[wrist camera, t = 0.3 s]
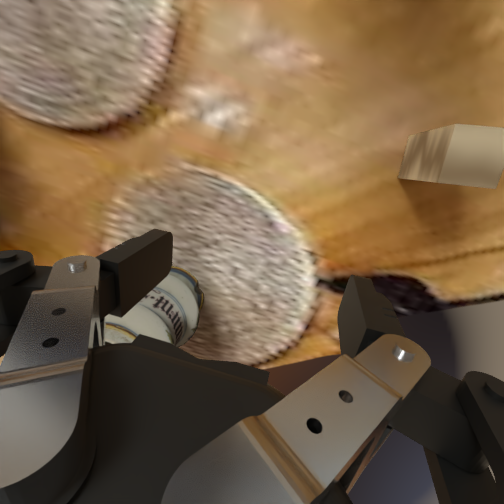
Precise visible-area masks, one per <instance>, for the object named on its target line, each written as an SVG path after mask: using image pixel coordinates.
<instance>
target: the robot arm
mask: <svg viewBox="0 0 504 504" xmlns="http://www.w3.org/2000/svg"><path fill="white" fill-rule="evenodd" d="M172 249H173V236H172V233H171V232H167V231H163V230H158V229H153V230H151V231H149V232H147V233H145V234H144V235H142V236H140V237H136V238H132V239H129V240H127V241H125V242H123V243H122V244H120V245H118V246H116V247H115V248H112V249H110V250H108V251H107V252H105V253H103V254H101V255H99V256H97V257H92V256H84V255H81V256H71V257H67V258H63V259H61V260H59V261H57V262H56V263H55V264H54V265H53V267H51V266H35V265H34V260H33V255H32V254H31V253H29V252H27V251H22V250H8V251H0V357H1V356H3V355H4V354H5V356H4V358H3V361H2V363H1V365H0V504H353V503H352V501H351V500H350V498H349V496H348V495H347V494H348V493H349V491H350V490H351V488H352V487H353V485H354V484H355V482H356V481H357V479H358V477H359V476H360V474H361V473H362V471H363V470H364V469H365V467H366V466H367V464H368V463H369V462H370V460H371V459H372V458H373V456H374V455H375V454H376V452H377V451H378V450H379V448H380V447H381V446H382V444H383V443H384V442H385V440H386V439H387V437H388V436H389V435H390V433H391V432H392V431H393V429H396V430H397V431H399V432H400V433H402V434H404V435H406V436H407V437H409V438H411V439H412V440H414V441H416V442H417V443H419V444H421V445H423V447H424V451H425V455H426V458H427V462H428V465H429V469H430V473H431V476H432V480H433V483H434V487H435V490H436V494H437V497H438V500H439V504H504V382H503V381H501V380H499V379H497V378H495V377H493V376H491V375H488V374H486V373H482V372H477V371H471V372H468V373H466V375H465V376H464V378H463V379H462V381H461V380H458V379H456V378H454V377H452V376H450V375H448V374H446V373H443V372H441V371H439V370H437V369H435V368H433V367H432V366H430V364H431V361H430V358H429V356H428V355H427V353H426V352H425V351H424V350H423V349H422V348H421V347H420V346H419V345H417V344H416V343H414V342H413V341H411V340H409V339H407V338H406V336H405V334H404V332H403V329H402V327H401V325H400V323H399V320H398V319H397V316H396V314H395V312H394V309H393V307H392V305H391V302H390V301H389V300H388V299H387V298H386V297H385V296H384V295H383V294H381V293H377V292H376V291H375V289H374V286H373V283H372V281H371V279H368V278H364V277H360V276H355V275H351V276H350V278H349V281H348V284H347V286H346V289H345V292H344V295H343V298H342V301H341V304H340V307H339V311H338V329H339V339H340V348H341V356H340V357H339V358H338V359H336V360H335V361H334V362H332V363H331V364H330V365H328V366H327V367H325V368H324V369H323V370H321V371H320V372H319V373H317V374H316V375H315V376H313V377H312V378H311V379H309V380H308V381H307V382H305V383H304V384H302V385H301V386H300V387H298V388H297V389H296V390H295V391H293V392H292V393H290V394H289V395H288V396H285V395H283V394H282V393H281V392H280V391H278V390H277V389H276V388H274V387H273V386H271V385H269V384H268V383H267V382H268V377H269V372H267V371H264V370H261V369H258V368H254V367H251V366H247V365H244V364H241V363H237V362H228V361H215V360H203V359H198V358H196V357H194V356H192V355H190V354H189V353H187V352H185V351H183V350H182V349H180V348H178V347H176V346H175V345H173V344H171V343H169V342H166V341H162V340H159V339H155V338H152V337H149V336H145V335H142V334H139V335H138V336H137V337H136V338H135V339H134V341H133V342H132V343H115V344H108V345H105V327H106V323H105V317H106V316H107V315H108V314H110V315H113V316H117V317H120V318H122V317H123V316H124V315H125V314H126V313H127V312H128V311H130V310H131V309H132V308H133V307H134V306H135V305H136V304H137V303H138V302H139V301H141V300H142V299H143V298H144V297H145V296H146V295H147V294H148V293H149V292H150V291H152V290H153V289H154V288H155V287H156V286H157V285H158V284H159V283H160V282H161V281H162V280H164V279H165V278H166V277H167V276H168V274H169V273H170V270H171V267H172ZM489 465H490V467H491V469H492V471H493V473H494V476H495V480H496V482H495V480H494V478H493V476H492V474H491V472H490V470H489V467H488V466H489Z"/></svg>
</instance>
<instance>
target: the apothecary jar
mask: <svg viewBox="0 0 504 504" xmlns="http://www.w3.org/2000/svg"><path fill="white" fill-rule="evenodd" d="M197 283H198V281H197V280H196V278H195V277H194V276H193V275H192V274H190V273H189V272H188V271H186V270H184V269H182V268H178V267H174V266H172V267H171V270H170V273H169V274H168V276H167V277H166V278H165V279H164V280H162V281H161V282H160V283H159V284H158V285H157V286H156V287H155V288H154V289H153V290H152V291H150V292H149V293H148V294H147V295H146V296H145V297H144V298H143V299H142V300H141V301H139V302H138V303H137V304H136V305H135V306H134V307H133V308H132V309H131V310H130V311H128V312H127V313H126V314H125V315H124V316H123V317H122V318H120V317H117V316H113V315H110V314H108V315H107V316H106V317H105V323H106V327H105V345H108V344H115V343H132V342H133V341H134V339H135V338H136V337H137V336H138V335H139V334H142V335H145V336H149V337H152V338H155V339H159V340H162V341H166V342H169V343H171V344H173V345H175V346H176V347H180V346H181V345H183V344H185V343H186V342H187V341H188V340H189V339H190V338H191V337H192V336H193V334H194V333H195V331H196V329H197V326H198V322H199V311H200V309H201V307H202V304H203V292H202V291H201V290H200V289H199V288H198V286H197Z"/></svg>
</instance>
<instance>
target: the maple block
mask: <svg viewBox="0 0 504 504" xmlns="http://www.w3.org/2000/svg"><path fill="white" fill-rule="evenodd" d="M503 169H504V128H501V127H489V126H478V125H466V124H453V125H449V126H445V127H441V128H437V129H433V130H429V131H425V132H421V133H418V134H414V135H410V136H409V137H408V141H407V145H406V149H405V152H404V156H403V160H402V164H401V168H400V172H399V175H398V178H401V179H410V180H418V181H427V182H435V183H445V184H454V185H463V186H473V187H482V188H492V189H496V187H497V185H498V182H499V179H500V177H501V174H502V171H503Z"/></svg>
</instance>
